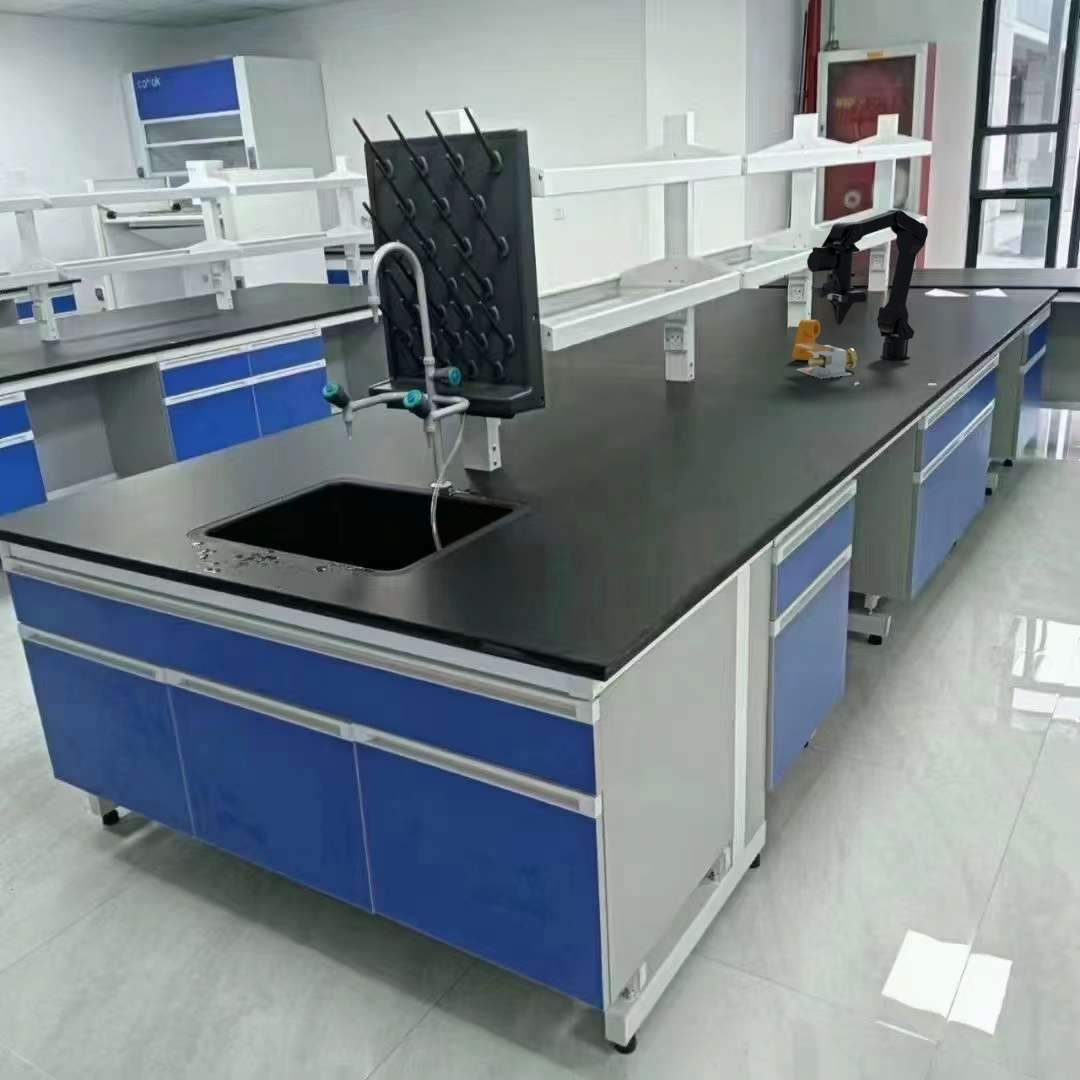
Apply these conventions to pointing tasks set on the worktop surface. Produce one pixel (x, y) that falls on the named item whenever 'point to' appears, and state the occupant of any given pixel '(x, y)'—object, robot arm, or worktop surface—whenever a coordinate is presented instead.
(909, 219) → the robot arm
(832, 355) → the hitch block
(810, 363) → the pin
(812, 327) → the bracket
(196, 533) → the worktop surface
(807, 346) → the tan flat plate
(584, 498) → the worktop surface
